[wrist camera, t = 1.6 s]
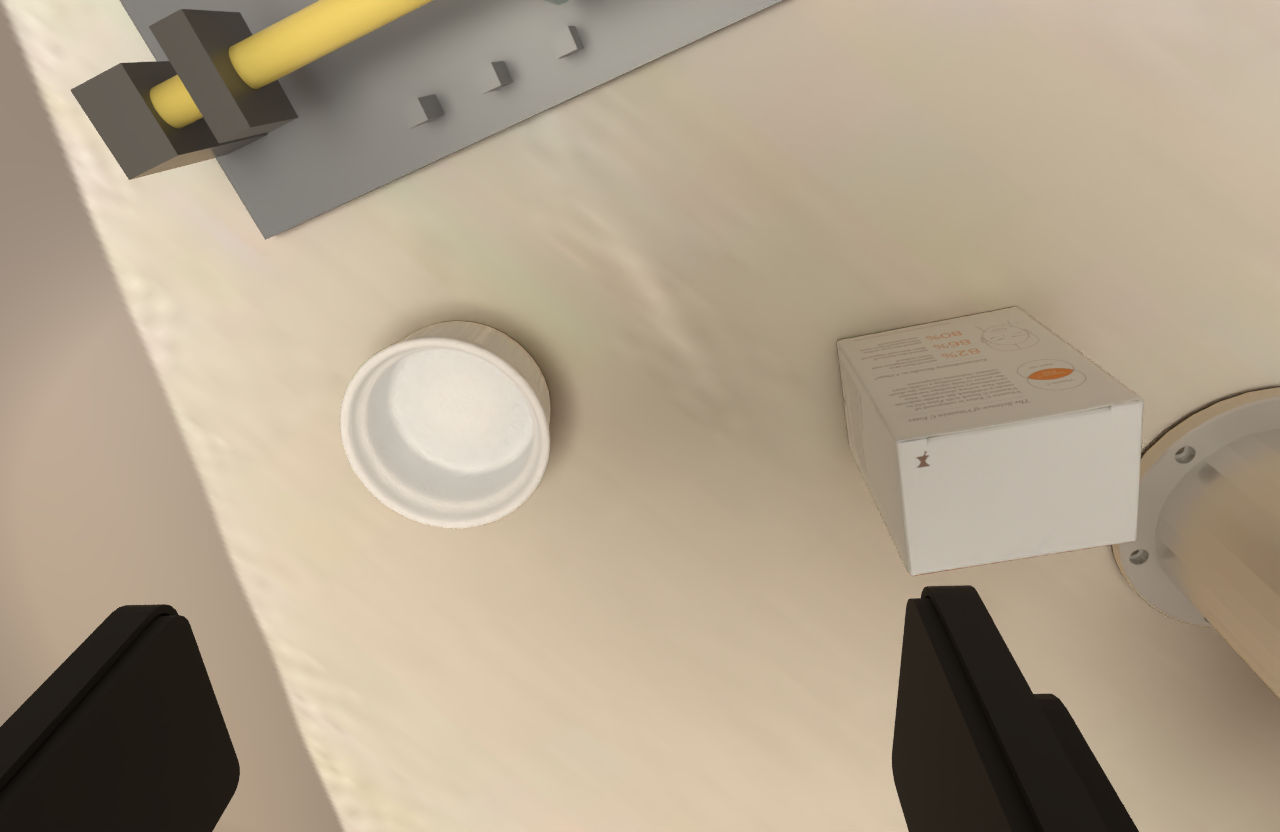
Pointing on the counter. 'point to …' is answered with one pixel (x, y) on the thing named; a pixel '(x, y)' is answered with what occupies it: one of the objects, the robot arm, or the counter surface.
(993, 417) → the small box
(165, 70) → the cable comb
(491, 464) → the ramekin
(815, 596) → the counter surface
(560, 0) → the sleeve
